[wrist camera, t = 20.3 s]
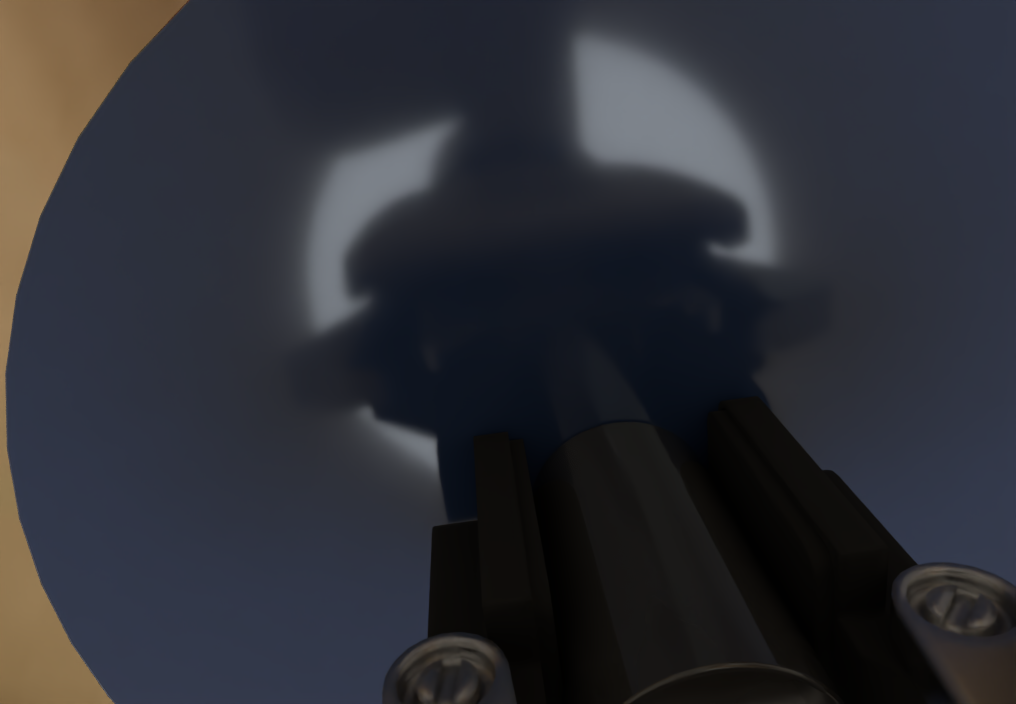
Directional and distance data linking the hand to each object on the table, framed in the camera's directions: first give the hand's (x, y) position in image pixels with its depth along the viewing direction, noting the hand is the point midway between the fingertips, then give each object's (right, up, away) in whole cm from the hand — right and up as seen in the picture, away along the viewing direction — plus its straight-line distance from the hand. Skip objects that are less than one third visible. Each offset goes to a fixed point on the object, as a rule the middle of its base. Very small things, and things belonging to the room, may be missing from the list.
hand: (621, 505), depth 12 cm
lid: (0, 0, +1) cm, 1 cm away
